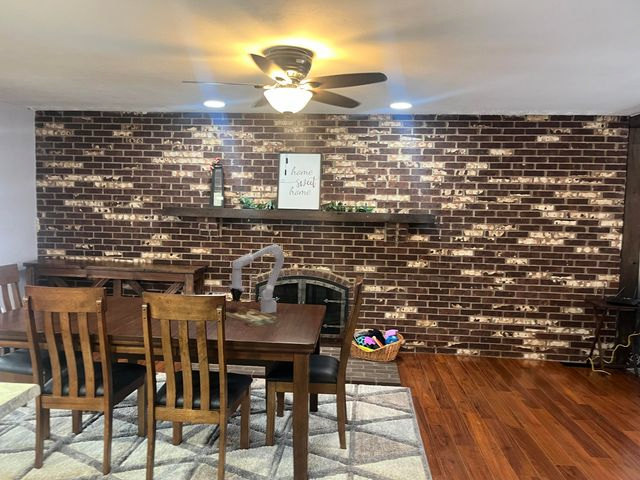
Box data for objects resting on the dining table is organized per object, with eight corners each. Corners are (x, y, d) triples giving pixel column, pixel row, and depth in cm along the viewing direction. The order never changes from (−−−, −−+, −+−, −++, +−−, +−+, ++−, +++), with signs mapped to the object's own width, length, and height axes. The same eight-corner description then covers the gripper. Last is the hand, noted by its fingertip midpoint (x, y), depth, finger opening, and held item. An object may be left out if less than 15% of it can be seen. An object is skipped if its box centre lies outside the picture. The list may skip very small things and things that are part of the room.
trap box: (250, 313, 277) (250, 308, 277) (276, 322, 257) (276, 317, 257) (225, 317, 265) (225, 312, 265) (250, 326, 245) (250, 321, 245)
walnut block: (243, 313, 271) (243, 306, 271) (246, 314, 268) (246, 307, 268) (237, 313, 268) (237, 307, 268) (241, 315, 265) (241, 308, 265)
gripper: (224, 277, 275) (224, 299, 275) (237, 281, 264) (236, 303, 265) (234, 277, 279) (234, 298, 280) (247, 280, 269) (246, 302, 270)
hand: (236, 300), depth 273 cm, fingers open, 3 cm apart
